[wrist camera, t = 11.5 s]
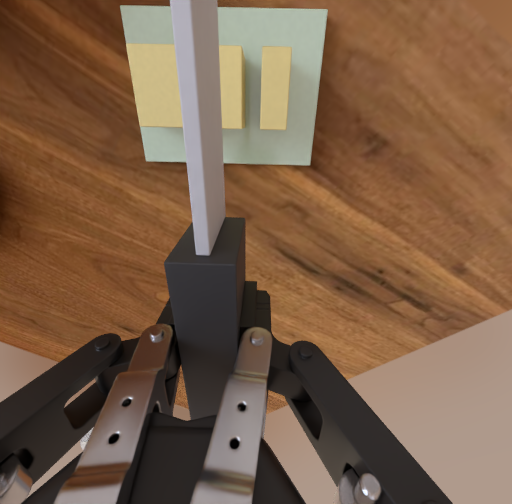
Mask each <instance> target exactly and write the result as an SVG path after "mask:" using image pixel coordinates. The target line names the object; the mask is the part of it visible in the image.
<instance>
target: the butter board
mask: <svg viewBox="0 0 512 504" xmlns="http://www.w3.org/2000/svg"><path fill="white" fill-rule="evenodd" d="M120 10H121V16H122V22H123V27H124V33H125V39H126V43H141V44H174V35H173V25H172V16H171V6H135V5H120ZM217 11H218V36H219V45H238V46H242V49H243V52H244V56H245V128H243V129H222V139H223V163H231V164H269V165H307V166H310V162H311V153H312V145H313V136H314V127H315V118H316V110H317V101H318V92H319V83H320V75H321V66H322V57H323V48H324V39H325V31H326V22H327V13H328V9H292V8H240V7H217ZM263 46H285V47H292V58H291V72H290V87H289V101H288V116H287V129H286V130H261V129H260V109H261V70H262V47H263ZM140 128H141V134H142V140H143V146H144V152H145V158H146V161H154V162H186V152H185V142H184V132H183V128H176V127H141V126H140Z"/></svg>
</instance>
